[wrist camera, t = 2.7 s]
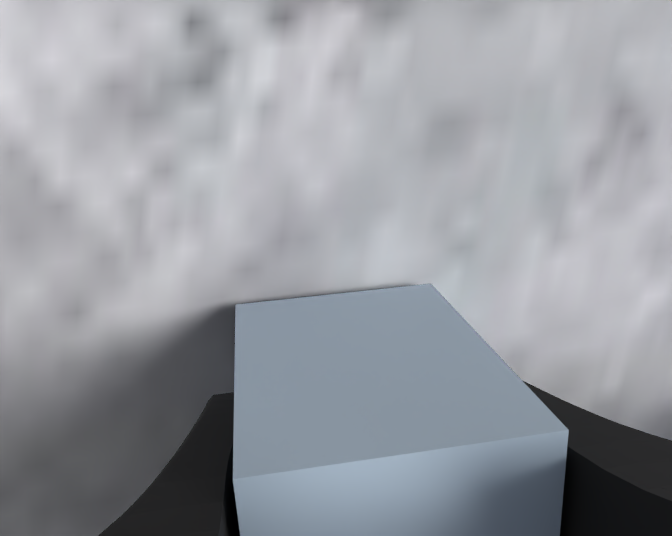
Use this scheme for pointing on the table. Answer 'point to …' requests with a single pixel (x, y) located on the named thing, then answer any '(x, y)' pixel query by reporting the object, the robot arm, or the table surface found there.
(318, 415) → the slate block
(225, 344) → the table surface
